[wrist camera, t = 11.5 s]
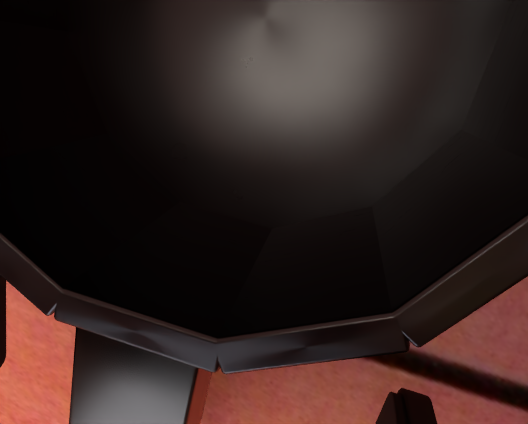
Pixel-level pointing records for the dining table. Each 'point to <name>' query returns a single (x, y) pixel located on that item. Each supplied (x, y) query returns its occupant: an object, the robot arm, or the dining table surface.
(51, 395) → the dining table surface
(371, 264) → the pan
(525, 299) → the dining table surface
